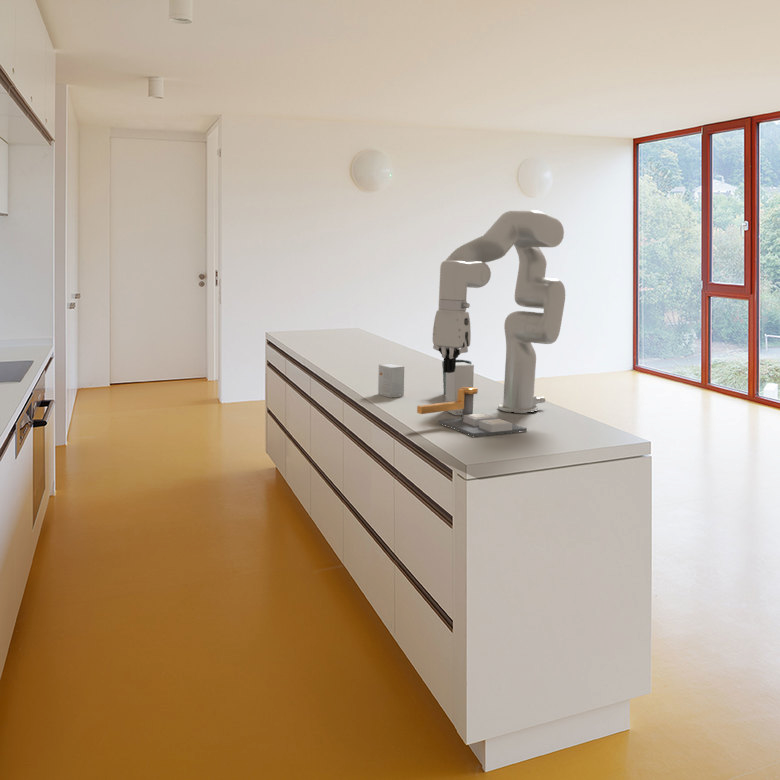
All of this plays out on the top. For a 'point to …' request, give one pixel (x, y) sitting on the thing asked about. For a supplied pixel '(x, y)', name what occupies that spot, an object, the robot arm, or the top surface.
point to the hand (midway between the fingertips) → (449, 372)
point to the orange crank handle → (448, 405)
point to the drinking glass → (445, 373)
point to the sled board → (476, 428)
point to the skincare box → (458, 382)
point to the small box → (391, 380)
